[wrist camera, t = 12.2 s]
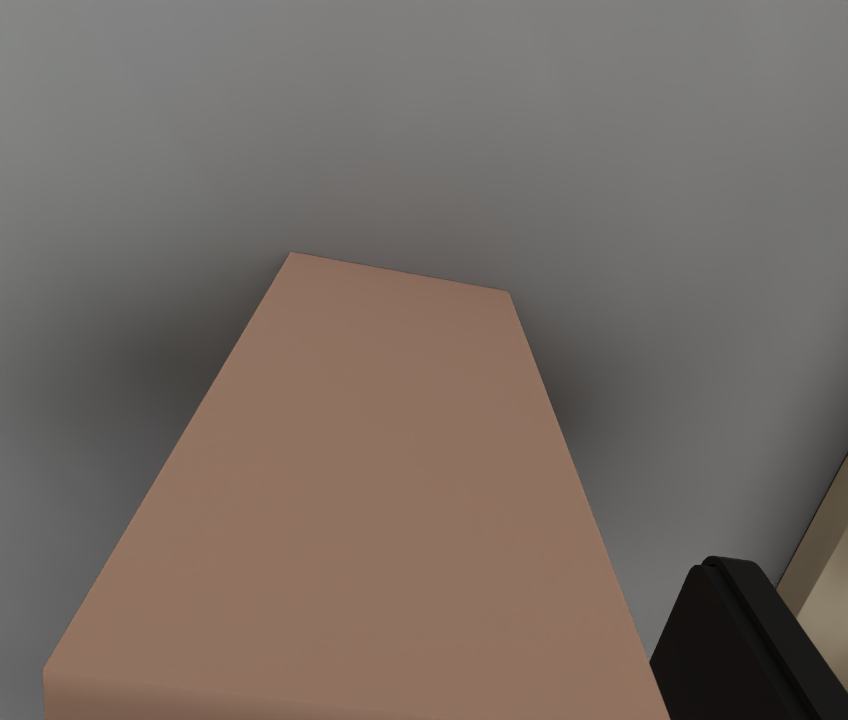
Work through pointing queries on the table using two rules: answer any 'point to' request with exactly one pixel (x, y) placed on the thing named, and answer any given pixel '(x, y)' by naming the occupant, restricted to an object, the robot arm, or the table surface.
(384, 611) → the salmon rectangular block
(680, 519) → the table surface
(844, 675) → the tan wooden low box
